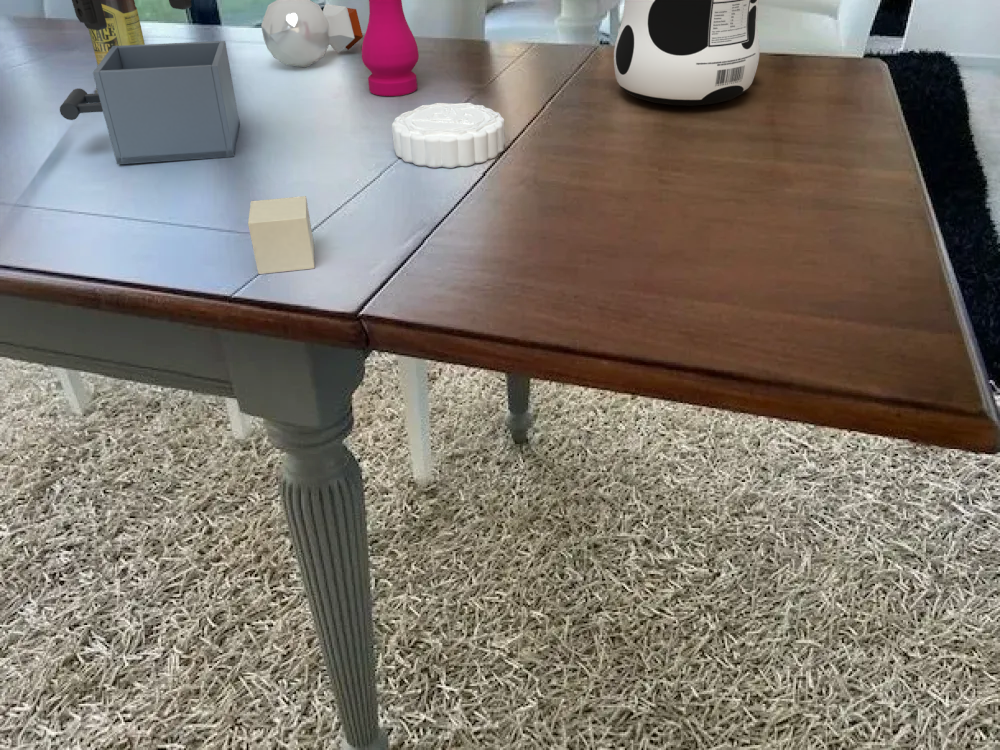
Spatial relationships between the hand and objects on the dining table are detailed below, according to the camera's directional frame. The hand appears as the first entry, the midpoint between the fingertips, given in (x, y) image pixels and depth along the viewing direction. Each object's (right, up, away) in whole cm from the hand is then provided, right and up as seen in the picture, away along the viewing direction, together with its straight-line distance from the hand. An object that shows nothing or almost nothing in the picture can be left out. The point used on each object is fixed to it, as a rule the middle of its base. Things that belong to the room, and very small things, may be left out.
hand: (140, 18), depth 73 cm
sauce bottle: (-18, +6, +40) cm, 44 cm away
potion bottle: (+4, +15, +51) cm, 54 cm away
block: (+13, -21, -2) cm, 25 cm away
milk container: (+54, +4, +33) cm, 63 cm away
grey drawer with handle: (-7, -5, +22) cm, 23 cm away
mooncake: (+26, -6, +19) cm, 32 cm away
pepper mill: (+17, +6, +38) cm, 42 cm away
